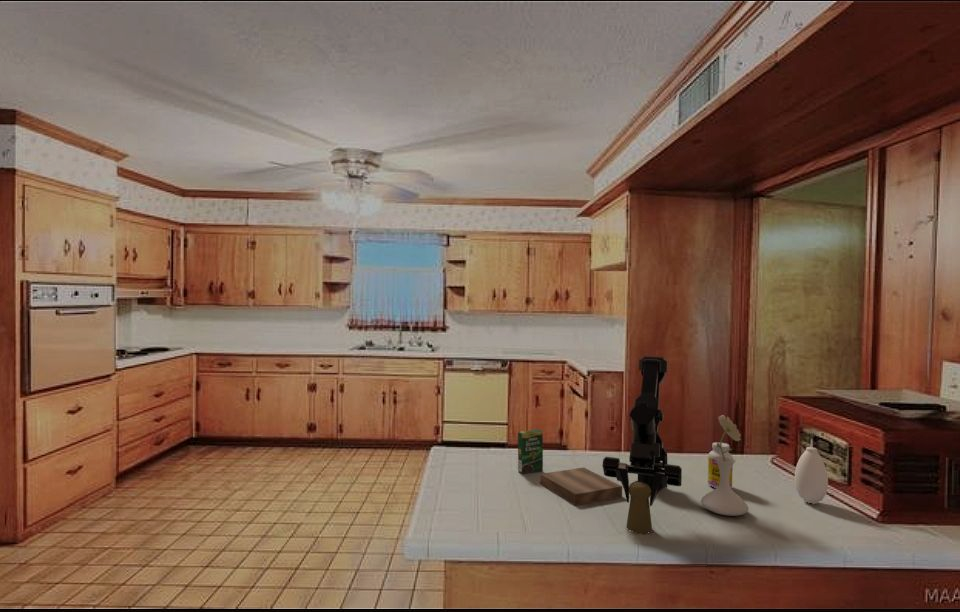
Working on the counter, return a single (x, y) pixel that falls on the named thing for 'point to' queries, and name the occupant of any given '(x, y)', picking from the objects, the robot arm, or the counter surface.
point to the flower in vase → (725, 480)
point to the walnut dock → (580, 485)
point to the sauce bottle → (811, 476)
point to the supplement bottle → (713, 465)
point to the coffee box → (530, 451)
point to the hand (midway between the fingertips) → (639, 503)
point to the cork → (639, 508)
